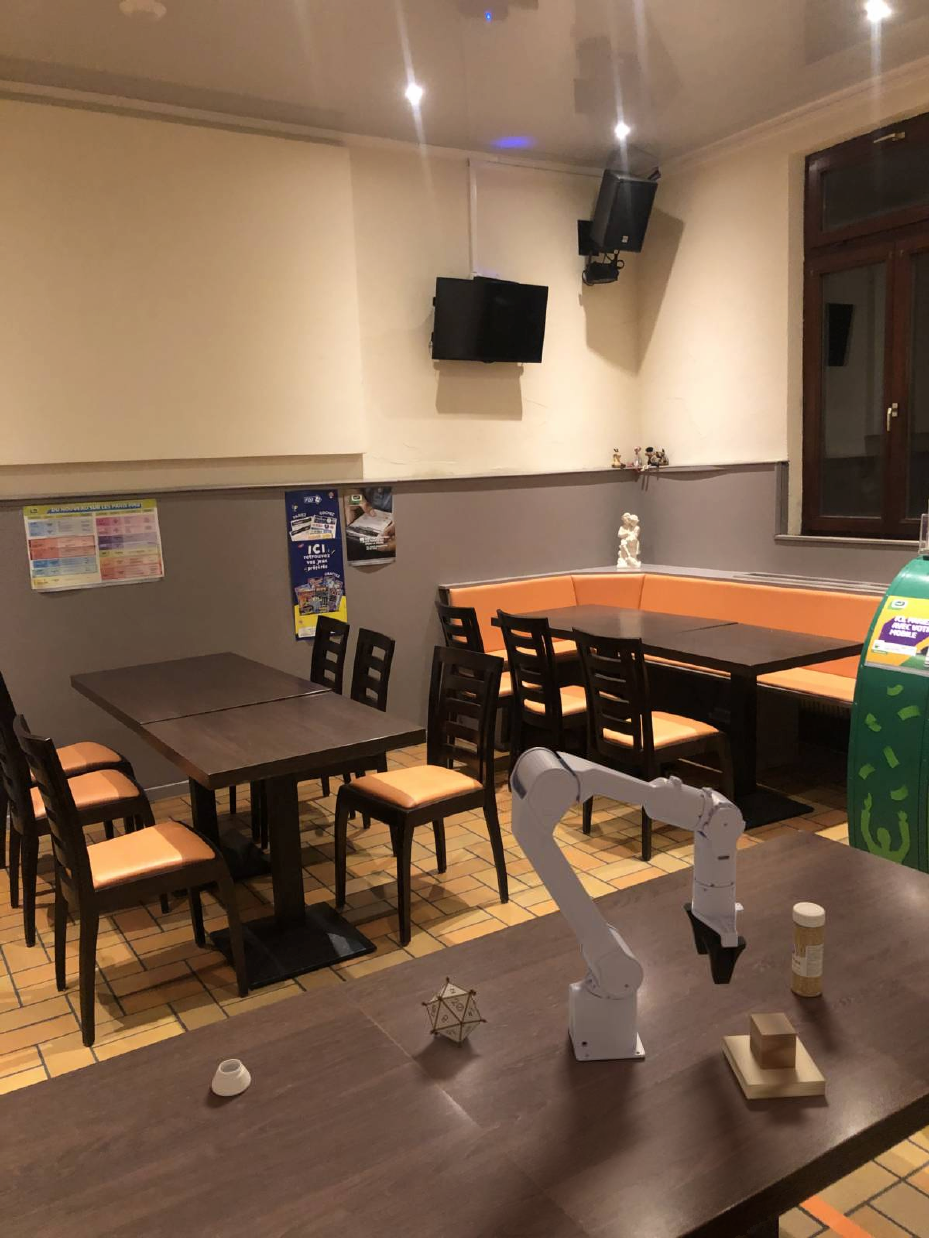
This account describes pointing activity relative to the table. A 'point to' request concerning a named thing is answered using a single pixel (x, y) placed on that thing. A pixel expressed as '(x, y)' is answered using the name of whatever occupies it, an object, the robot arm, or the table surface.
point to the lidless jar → (231, 1078)
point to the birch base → (772, 1072)
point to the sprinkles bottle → (807, 949)
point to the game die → (453, 1012)
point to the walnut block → (772, 1041)
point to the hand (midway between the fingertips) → (713, 967)
